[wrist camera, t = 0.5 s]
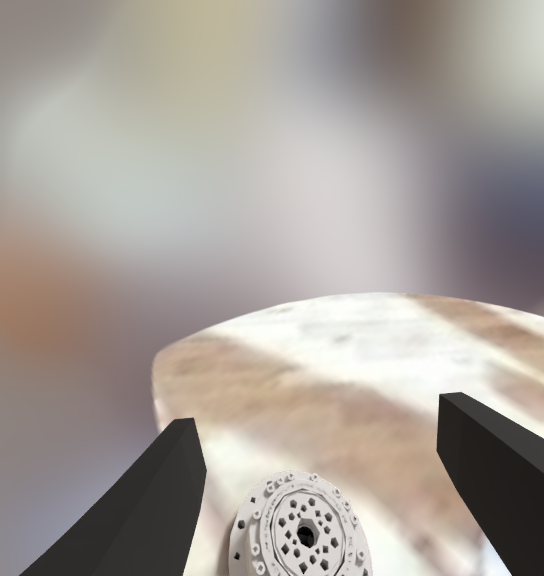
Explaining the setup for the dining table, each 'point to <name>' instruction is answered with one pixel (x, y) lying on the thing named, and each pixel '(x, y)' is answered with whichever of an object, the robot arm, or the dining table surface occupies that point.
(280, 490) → the mechanical component
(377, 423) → the dining table surface
